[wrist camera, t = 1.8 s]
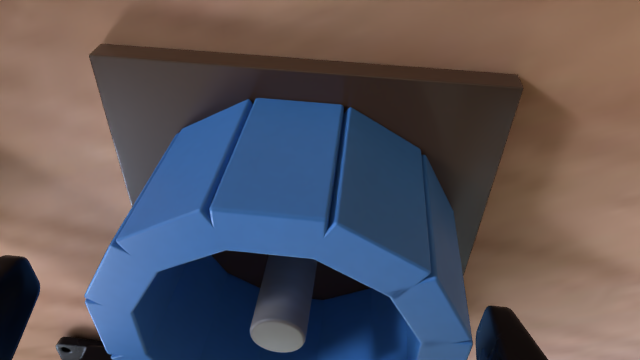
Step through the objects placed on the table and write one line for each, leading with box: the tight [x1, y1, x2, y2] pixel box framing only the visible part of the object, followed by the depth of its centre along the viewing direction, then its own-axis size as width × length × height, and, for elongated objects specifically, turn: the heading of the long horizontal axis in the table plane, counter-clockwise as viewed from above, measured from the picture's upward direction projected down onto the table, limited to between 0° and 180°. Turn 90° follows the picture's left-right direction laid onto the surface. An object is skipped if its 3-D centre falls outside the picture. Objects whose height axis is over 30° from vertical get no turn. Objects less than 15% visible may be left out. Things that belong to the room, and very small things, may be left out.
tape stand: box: [89, 44, 523, 353], centre depth 16 cm, size 12×12×5 cm
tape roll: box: [85, 98, 473, 360], centre depth 15 cm, size 10×10×5 cm
